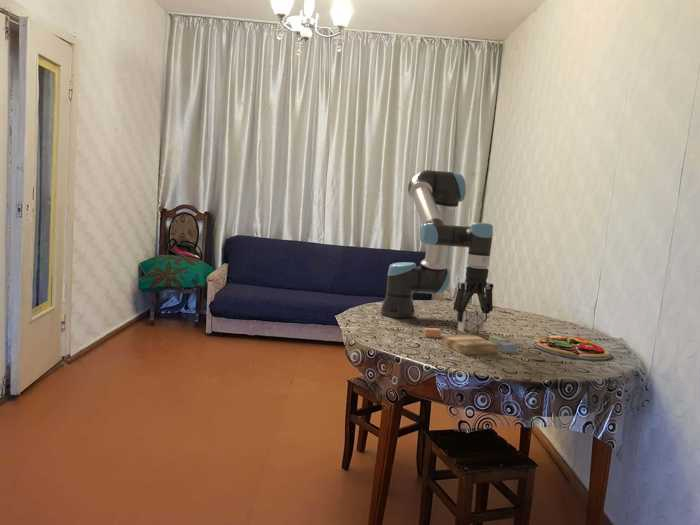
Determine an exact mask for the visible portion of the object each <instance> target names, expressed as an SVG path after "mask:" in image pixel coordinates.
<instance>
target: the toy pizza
mask: <svg viewBox="0 0 700 525" xmlns="http://www.w3.org/2000/svg"><path fill="white" fill-rule="evenodd" d="M532 345H533V346H534V347H535V346H536V347H535V348H537V349H538V348H539V350H540V349H541V350H540V351H542V350H543V351H542V352H545V351H546V352H545V353H548V352H549V353H548V354H551V353H552V355H554V354H556V356H558V355H560V356H559V357H563V356H564V358H568V357H569V359H574V358H575V360H583V361H605V360H609V359H610V358H612V356H613V354H612V353H611V352H610V351H609V350H607V349H606V348H604V347H602V346H599V345H597V344H595V343H594V342H592V341H591V340H589V339H586V338H583V337H577V336H574V337H570V338H569V339H568V337H567V336H562V335H550V336H545V337H541V338H540V337H539V338H537V339H535V340H533V342H532Z"/></svg>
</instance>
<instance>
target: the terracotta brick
mask: <svg viewBox="0 0 700 525" xmlns="http://www.w3.org/2000/svg"><path fill="white" fill-rule="evenodd" d="M422 330H423V331H422V336H423V335H424V337H425V338H439V337H440V338H441V337H442V335H441V333H442V329H441V328H439V327H437V328H436V327H423V328H422Z"/></svg>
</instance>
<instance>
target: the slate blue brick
mask: <svg viewBox="0 0 700 525" xmlns="http://www.w3.org/2000/svg"><path fill="white" fill-rule="evenodd" d="M517 348H518V344H517V343H514V342H508V341H506V342H505V343H498V350H497V352H500V353H517V350H518V349H517Z"/></svg>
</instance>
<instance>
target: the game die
mask: <svg viewBox="0 0 700 525" xmlns="http://www.w3.org/2000/svg"><path fill="white" fill-rule="evenodd" d="M464 313H466V317H465V326H464V332H465V333H466V334H468V333H469V332H471V333H472V332H473V333H477V335H478V334H480V332H479V331H480V330H479V329H480V327H481V325H482V323H483V322H485V320H484V321H483V320H482V318H481V317H480V316H479V311H478V310H477V309H476V310H475V311H467V310H466V309H465V311H464ZM485 323H486V322H485Z"/></svg>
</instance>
